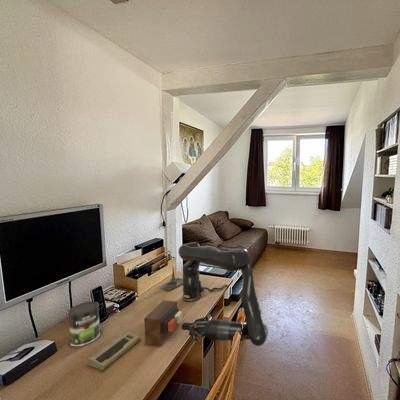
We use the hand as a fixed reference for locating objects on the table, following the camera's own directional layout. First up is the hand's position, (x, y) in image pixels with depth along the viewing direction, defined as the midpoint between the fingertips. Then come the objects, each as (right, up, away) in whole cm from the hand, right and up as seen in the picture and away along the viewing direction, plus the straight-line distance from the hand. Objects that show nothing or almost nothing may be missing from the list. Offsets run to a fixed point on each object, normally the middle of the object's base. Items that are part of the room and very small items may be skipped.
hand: (182, 325), depth 95 cm
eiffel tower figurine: (-26, -2, +51) cm, 57 cm away
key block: (-11, -6, +5) cm, 14 cm away
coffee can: (-43, -6, +2) cm, 44 cm away
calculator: (-51, -4, +24) cm, 57 cm away
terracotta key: (-5, -2, +1) cm, 5 cm away
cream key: (-4, -1, +6) cm, 8 cm away
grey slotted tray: (-25, -7, -6) cm, 27 cm away
